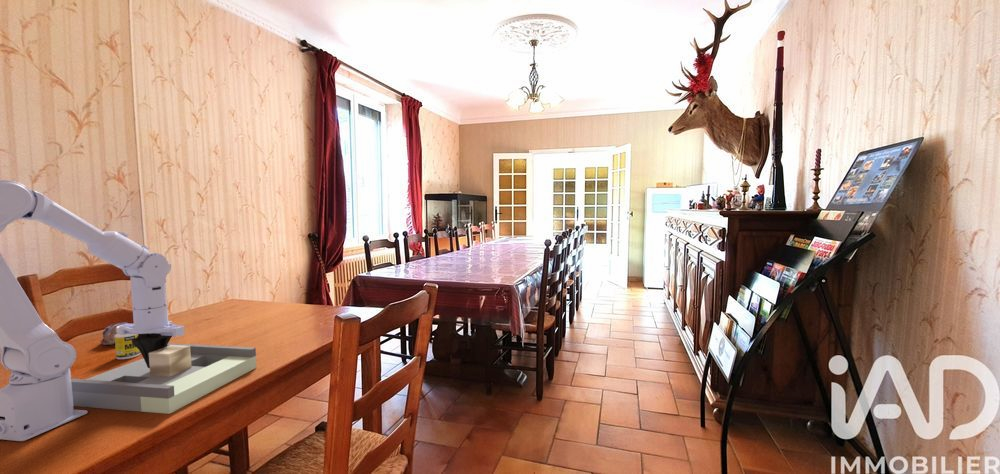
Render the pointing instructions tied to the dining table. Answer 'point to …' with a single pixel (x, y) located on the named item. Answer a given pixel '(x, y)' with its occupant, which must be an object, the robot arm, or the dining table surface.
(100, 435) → the dining table surface
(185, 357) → the birch block
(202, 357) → the board
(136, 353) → the supplement bottle
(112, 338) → the skull
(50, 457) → the dining table surface
